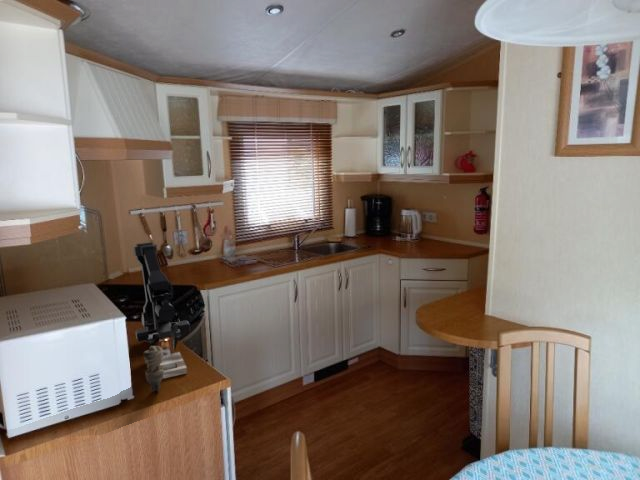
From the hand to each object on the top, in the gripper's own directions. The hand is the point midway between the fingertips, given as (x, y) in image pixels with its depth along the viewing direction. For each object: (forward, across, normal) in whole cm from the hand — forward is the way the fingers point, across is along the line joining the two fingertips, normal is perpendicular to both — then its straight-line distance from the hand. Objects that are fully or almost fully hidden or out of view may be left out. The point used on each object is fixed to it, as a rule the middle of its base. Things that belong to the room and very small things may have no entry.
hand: (165, 352), depth 168 cm
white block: (+2, 0, -11) cm, 11 cm away
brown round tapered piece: (+2, 0, 0) cm, 2 cm away
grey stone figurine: (+2, -6, -25) cm, 26 cm away
